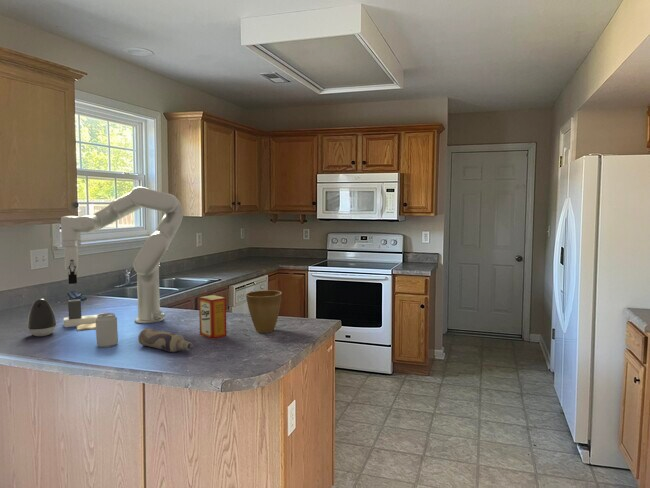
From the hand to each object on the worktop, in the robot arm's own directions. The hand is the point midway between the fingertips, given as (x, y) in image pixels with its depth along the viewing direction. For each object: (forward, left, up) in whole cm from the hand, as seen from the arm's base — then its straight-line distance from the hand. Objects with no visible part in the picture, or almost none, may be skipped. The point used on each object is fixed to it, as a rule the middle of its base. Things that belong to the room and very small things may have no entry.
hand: (72, 282), depth 220 cm
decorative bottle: (-66, +13, -20) cm, 70 cm away
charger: (0, 0, -16) cm, 16 cm away
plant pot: (-84, -26, -20) cm, 90 cm away
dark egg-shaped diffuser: (-3, +18, -20) cm, 26 cm away
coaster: (-10, +2, -19) cm, 22 cm away
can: (-41, +17, -20) cm, 49 cm away
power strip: (-3, -4, -19) cm, 20 cm away
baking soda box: (-69, -11, -20) cm, 72 cm away
